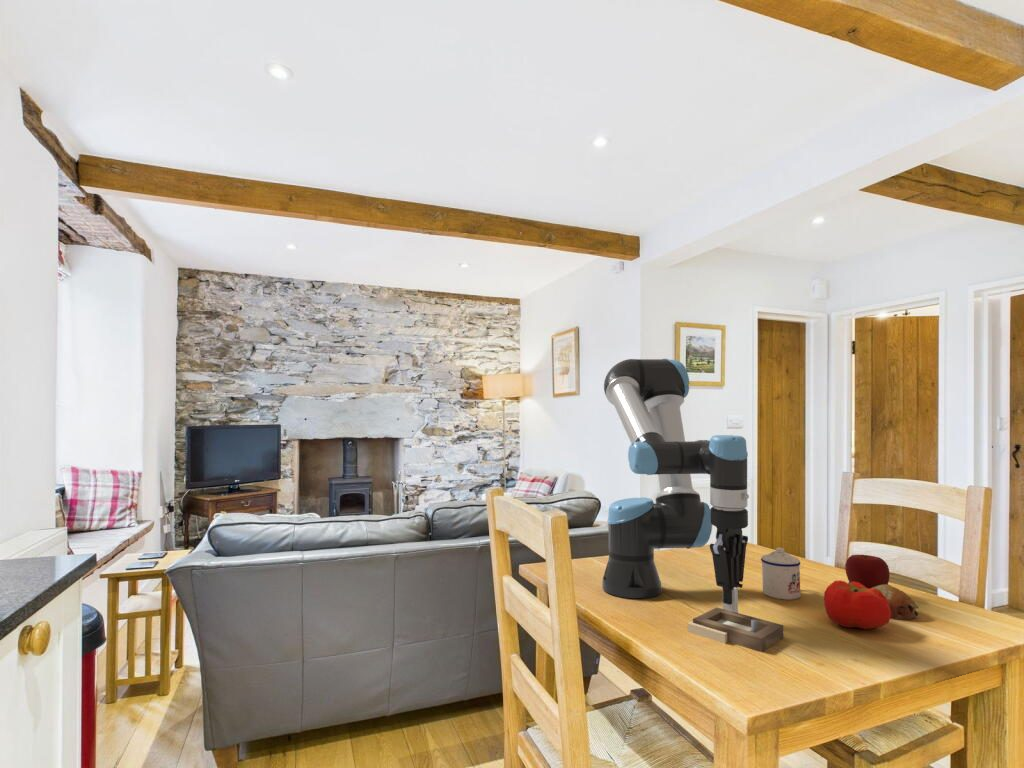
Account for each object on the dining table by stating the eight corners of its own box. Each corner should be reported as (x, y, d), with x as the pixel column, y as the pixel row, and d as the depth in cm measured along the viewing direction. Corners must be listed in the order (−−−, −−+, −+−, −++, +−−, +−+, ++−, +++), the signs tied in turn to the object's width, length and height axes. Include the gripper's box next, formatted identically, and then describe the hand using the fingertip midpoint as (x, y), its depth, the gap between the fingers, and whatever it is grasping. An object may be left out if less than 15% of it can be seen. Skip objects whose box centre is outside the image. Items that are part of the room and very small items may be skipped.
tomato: (887, 643, 111) (885, 599, 112) (817, 628, 119) (815, 586, 120) (896, 624, 122) (894, 583, 122) (831, 610, 130) (829, 572, 130)
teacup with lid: (796, 603, 135) (795, 554, 136) (757, 595, 141) (755, 548, 142) (808, 591, 144) (806, 545, 145) (770, 584, 150) (769, 540, 151)
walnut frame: (693, 630, 114) (692, 618, 114) (717, 618, 121) (716, 607, 121) (761, 651, 104) (761, 638, 104) (783, 637, 111) (783, 625, 111)
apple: (866, 587, 148) (865, 548, 148) (900, 598, 138) (898, 557, 139) (837, 590, 145) (836, 551, 146) (869, 602, 136) (868, 560, 136)
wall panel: (661, 634, 116) (661, 609, 117) (701, 615, 127) (700, 593, 127) (768, 669, 100) (767, 641, 100) (803, 644, 111) (802, 619, 111)
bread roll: (888, 620, 134) (872, 586, 137) (931, 613, 126) (913, 577, 129) (864, 628, 129) (848, 592, 132) (907, 621, 121) (889, 583, 124)
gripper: (731, 514, 113) (733, 631, 112) (759, 505, 122) (761, 614, 121) (697, 509, 119) (698, 620, 118) (726, 501, 127) (728, 605, 127)
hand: (730, 617), depth 120 cm, fingers closed
